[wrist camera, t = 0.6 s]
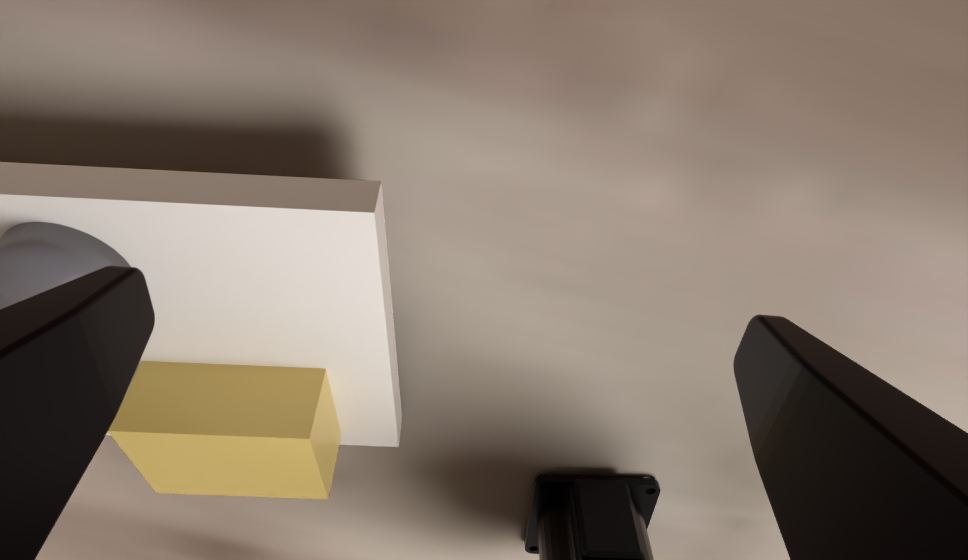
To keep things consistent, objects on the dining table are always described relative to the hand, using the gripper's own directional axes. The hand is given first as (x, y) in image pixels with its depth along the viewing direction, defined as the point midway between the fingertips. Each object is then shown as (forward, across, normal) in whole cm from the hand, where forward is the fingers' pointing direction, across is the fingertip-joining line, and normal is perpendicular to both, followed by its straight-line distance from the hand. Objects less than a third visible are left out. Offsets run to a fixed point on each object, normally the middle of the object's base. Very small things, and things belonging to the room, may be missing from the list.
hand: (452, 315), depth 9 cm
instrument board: (+11, +12, +10) cm, 19 cm away
